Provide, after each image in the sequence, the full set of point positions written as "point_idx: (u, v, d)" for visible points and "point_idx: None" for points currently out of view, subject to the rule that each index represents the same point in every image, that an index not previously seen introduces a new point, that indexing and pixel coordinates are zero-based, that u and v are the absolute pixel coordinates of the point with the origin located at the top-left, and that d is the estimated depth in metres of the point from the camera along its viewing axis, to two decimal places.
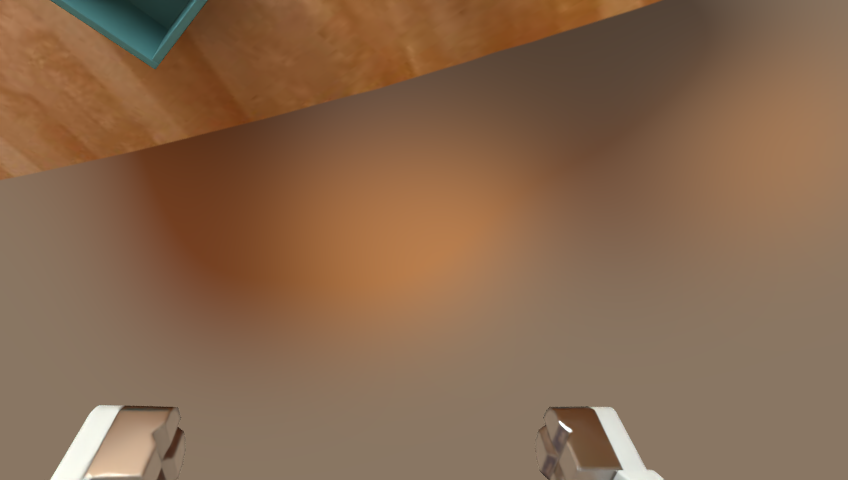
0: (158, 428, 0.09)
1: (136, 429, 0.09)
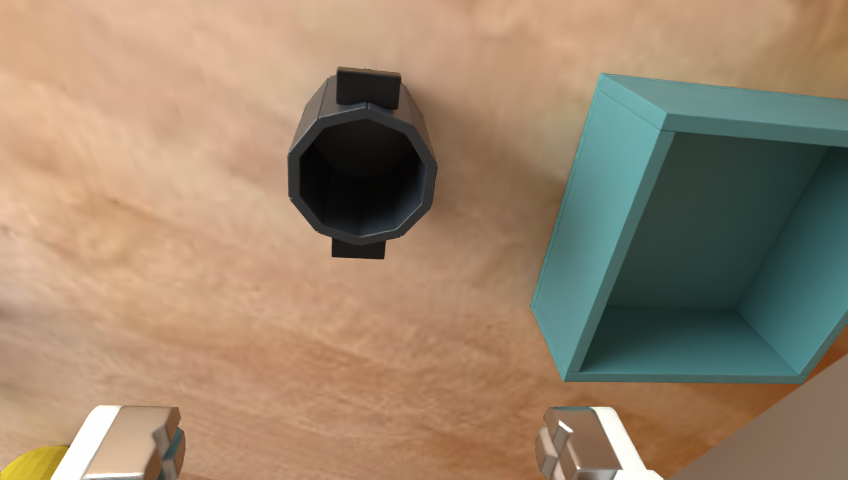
0: (158, 428, 0.09)
1: (136, 429, 0.09)
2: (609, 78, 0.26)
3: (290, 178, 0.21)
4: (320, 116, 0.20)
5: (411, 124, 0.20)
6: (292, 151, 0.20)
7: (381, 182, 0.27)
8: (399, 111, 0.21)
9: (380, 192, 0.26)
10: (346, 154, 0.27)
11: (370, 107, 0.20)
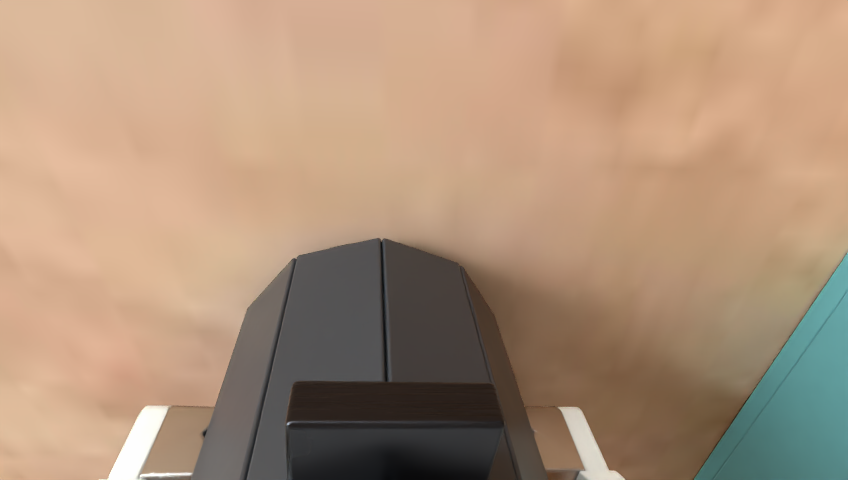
0: (207, 428, 0.09)
1: (185, 429, 0.09)
2: None
3: None
4: None
5: None
6: None
7: None
8: None
9: None
10: None
11: None
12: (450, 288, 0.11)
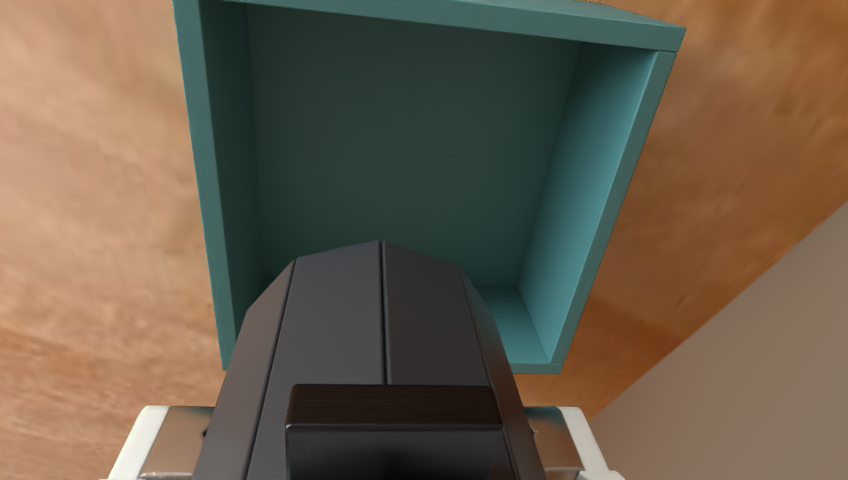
0: (207, 428, 0.09)
1: (185, 429, 0.09)
2: None
3: None
4: None
5: None
6: None
7: None
8: None
9: None
10: None
11: None
12: (449, 290, 0.11)
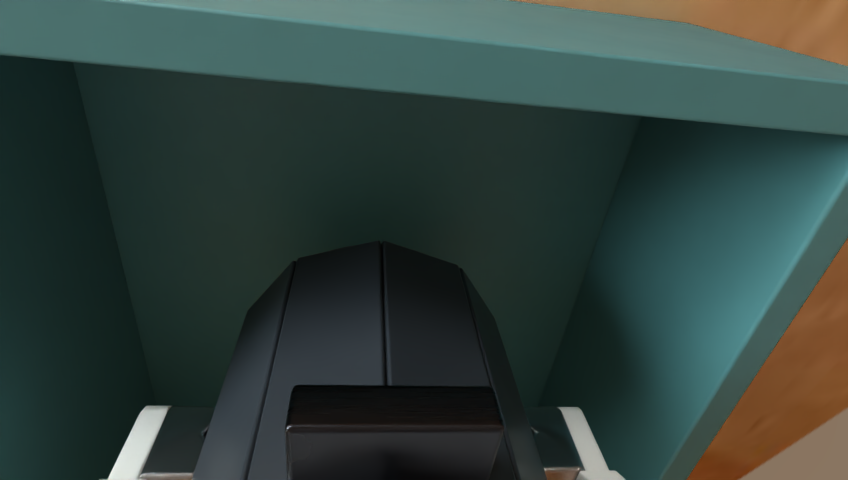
0: (207, 428, 0.09)
1: (185, 428, 0.09)
2: None
3: None
4: None
5: None
6: None
7: None
8: None
9: None
10: None
11: None
12: (450, 290, 0.11)
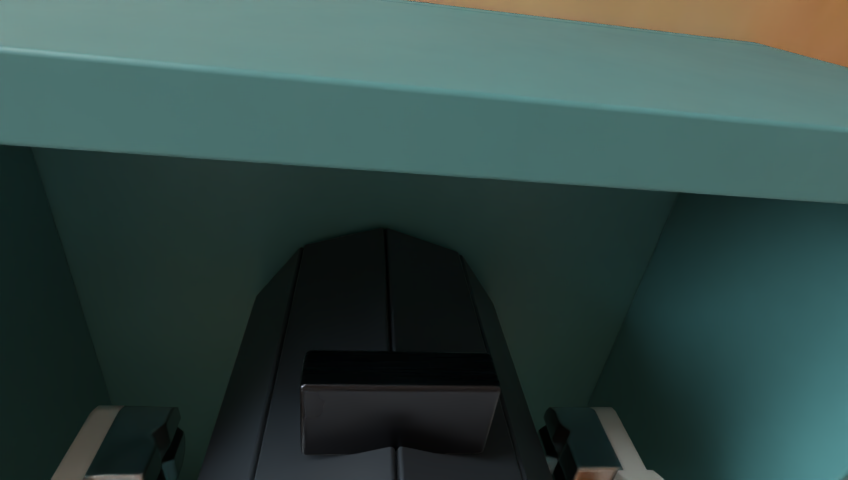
0: (158, 428, 0.09)
1: (136, 429, 0.09)
2: None
3: None
4: None
5: None
6: None
7: None
8: None
9: None
10: None
11: None
12: (450, 275, 0.11)
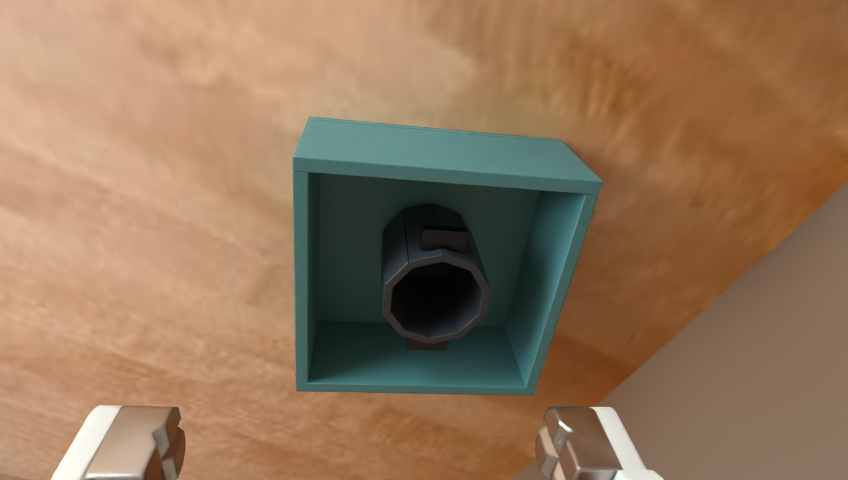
0: (158, 428, 0.09)
1: (136, 429, 0.09)
2: (307, 122, 0.30)
3: (384, 300, 0.29)
4: (410, 260, 0.28)
5: (474, 264, 0.28)
6: (388, 283, 0.28)
7: (439, 284, 0.35)
8: (464, 251, 0.29)
9: (440, 295, 0.34)
10: None
11: (446, 254, 0.28)
12: (455, 218, 0.33)
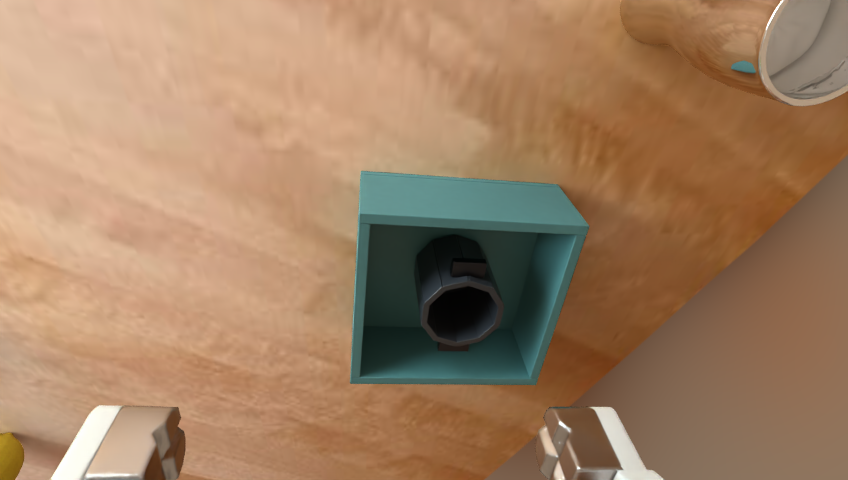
0: (158, 428, 0.09)
1: (137, 429, 0.09)
2: (361, 176, 0.38)
3: (423, 314, 0.38)
4: (443, 285, 0.36)
5: (491, 287, 0.37)
6: (426, 302, 0.37)
7: (460, 297, 0.44)
8: (483, 276, 0.38)
9: (461, 306, 0.43)
10: None
11: (470, 280, 0.36)
12: (475, 247, 0.41)
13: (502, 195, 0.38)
